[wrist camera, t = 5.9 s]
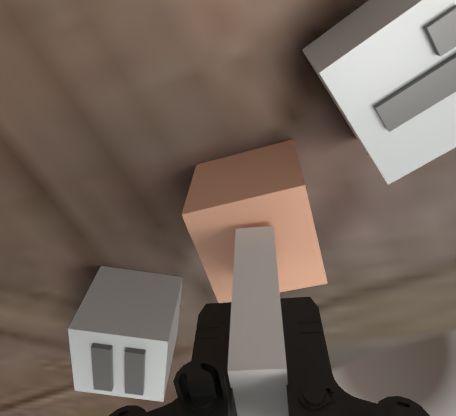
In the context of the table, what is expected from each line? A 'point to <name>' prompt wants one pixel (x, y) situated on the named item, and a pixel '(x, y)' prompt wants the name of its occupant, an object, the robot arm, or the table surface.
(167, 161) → the table surface
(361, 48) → the marked cube
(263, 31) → the table surface
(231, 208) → the plain cube
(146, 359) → the marked cube
